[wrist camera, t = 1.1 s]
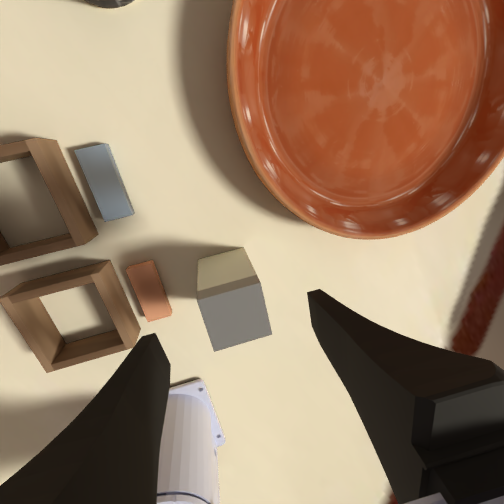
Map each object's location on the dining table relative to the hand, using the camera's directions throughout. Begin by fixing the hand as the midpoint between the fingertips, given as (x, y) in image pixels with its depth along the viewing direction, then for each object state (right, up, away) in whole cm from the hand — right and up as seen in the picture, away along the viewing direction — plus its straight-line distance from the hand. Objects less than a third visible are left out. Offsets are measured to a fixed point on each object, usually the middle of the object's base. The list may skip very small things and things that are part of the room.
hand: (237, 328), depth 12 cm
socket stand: (-13, +3, +8) cm, 15 cm away
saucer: (+10, +17, +9) cm, 21 cm away
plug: (-2, +2, +11) cm, 11 cm away
